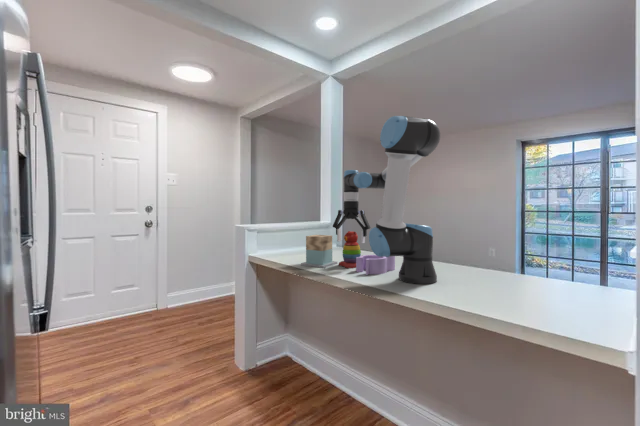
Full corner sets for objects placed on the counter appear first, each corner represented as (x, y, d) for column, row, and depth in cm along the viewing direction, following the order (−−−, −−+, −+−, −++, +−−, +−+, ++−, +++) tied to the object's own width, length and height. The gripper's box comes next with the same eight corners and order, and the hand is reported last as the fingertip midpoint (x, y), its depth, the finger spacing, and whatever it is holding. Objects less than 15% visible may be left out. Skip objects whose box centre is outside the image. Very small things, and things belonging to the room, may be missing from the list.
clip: (382, 266, 161) (382, 252, 161) (401, 270, 151) (401, 256, 151) (352, 271, 150) (352, 256, 150) (370, 276, 140) (371, 260, 139)
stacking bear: (337, 264, 165) (337, 230, 164) (354, 263, 169) (354, 230, 169) (347, 268, 155) (347, 232, 155) (365, 266, 159) (365, 231, 159)
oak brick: (332, 248, 168) (332, 235, 167) (322, 251, 159) (322, 237, 159) (316, 247, 173) (316, 234, 173) (306, 249, 164) (306, 236, 164)
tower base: (337, 263, 169) (337, 248, 168) (323, 267, 157) (323, 251, 156) (315, 261, 176) (315, 246, 176) (300, 265, 164) (300, 249, 164)
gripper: (376, 200, 158) (376, 243, 159) (333, 200, 171) (333, 239, 172) (371, 200, 152) (370, 244, 152) (326, 200, 165) (326, 241, 165)
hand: (350, 242), depth 162 cm, fingers open, 13 cm apart
